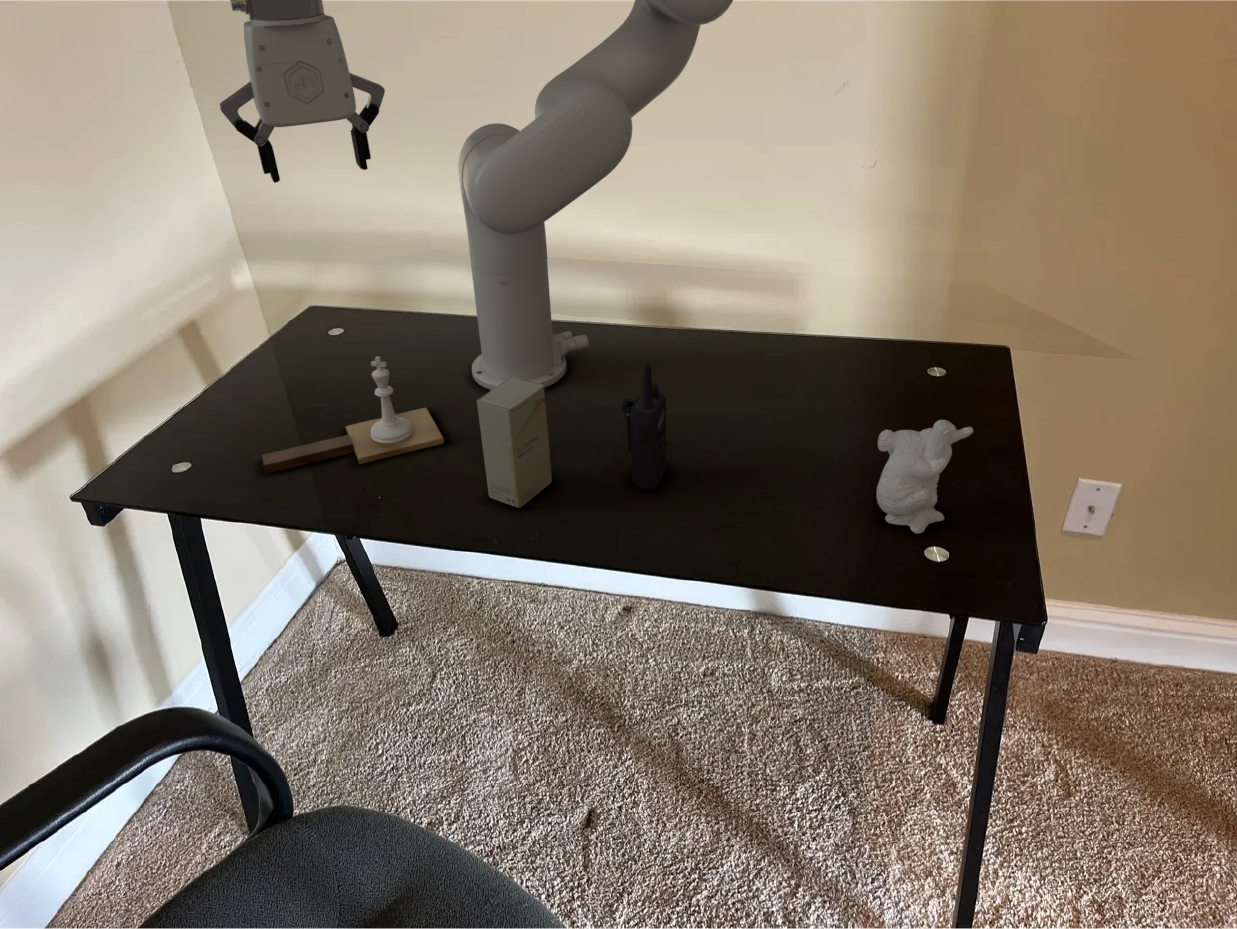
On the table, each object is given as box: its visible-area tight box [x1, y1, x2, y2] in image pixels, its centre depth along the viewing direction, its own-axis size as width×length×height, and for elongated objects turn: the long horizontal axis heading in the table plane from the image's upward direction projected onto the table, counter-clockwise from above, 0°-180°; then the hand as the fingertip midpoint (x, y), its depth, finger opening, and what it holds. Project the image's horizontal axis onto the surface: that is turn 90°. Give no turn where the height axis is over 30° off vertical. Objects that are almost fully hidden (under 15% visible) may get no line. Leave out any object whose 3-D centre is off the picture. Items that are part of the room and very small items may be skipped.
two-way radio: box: [621, 361, 668, 490], centre depth 98 cm, size 6×4×15 cm
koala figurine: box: [875, 419, 975, 535], centre depth 91 cm, size 8×7×12 cm
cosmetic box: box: [476, 377, 553, 509], centre depth 97 cm, size 6×4×12 cm
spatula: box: [261, 407, 445, 475], centre depth 108 cm, size 20×8×1 cm, turn 114°
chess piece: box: [370, 355, 413, 443], centre depth 107 cm, size 5×5×10 cm
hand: (319, 172), depth 104 cm, fingers open, 9 cm apart
